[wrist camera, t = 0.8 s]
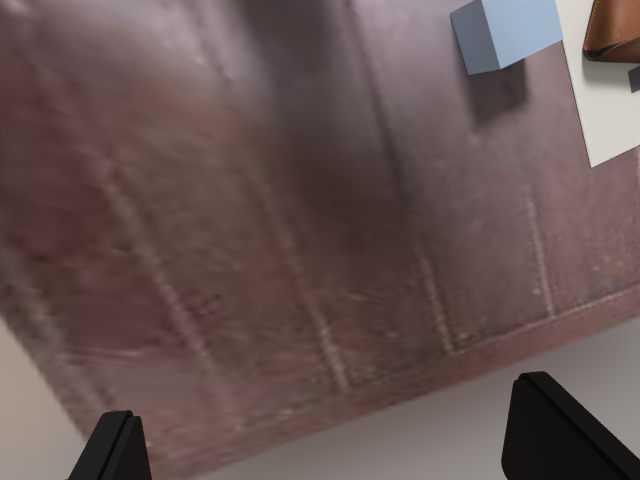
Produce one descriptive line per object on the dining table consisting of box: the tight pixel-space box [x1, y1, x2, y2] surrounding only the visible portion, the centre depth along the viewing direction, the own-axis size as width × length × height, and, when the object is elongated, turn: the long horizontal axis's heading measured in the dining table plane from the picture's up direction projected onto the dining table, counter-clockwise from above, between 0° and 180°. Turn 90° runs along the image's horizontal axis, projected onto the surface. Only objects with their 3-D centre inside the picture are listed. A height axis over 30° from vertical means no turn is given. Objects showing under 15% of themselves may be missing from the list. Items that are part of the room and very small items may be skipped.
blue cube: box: [450, 0, 564, 75], centre depth 37 cm, size 6×6×6 cm
